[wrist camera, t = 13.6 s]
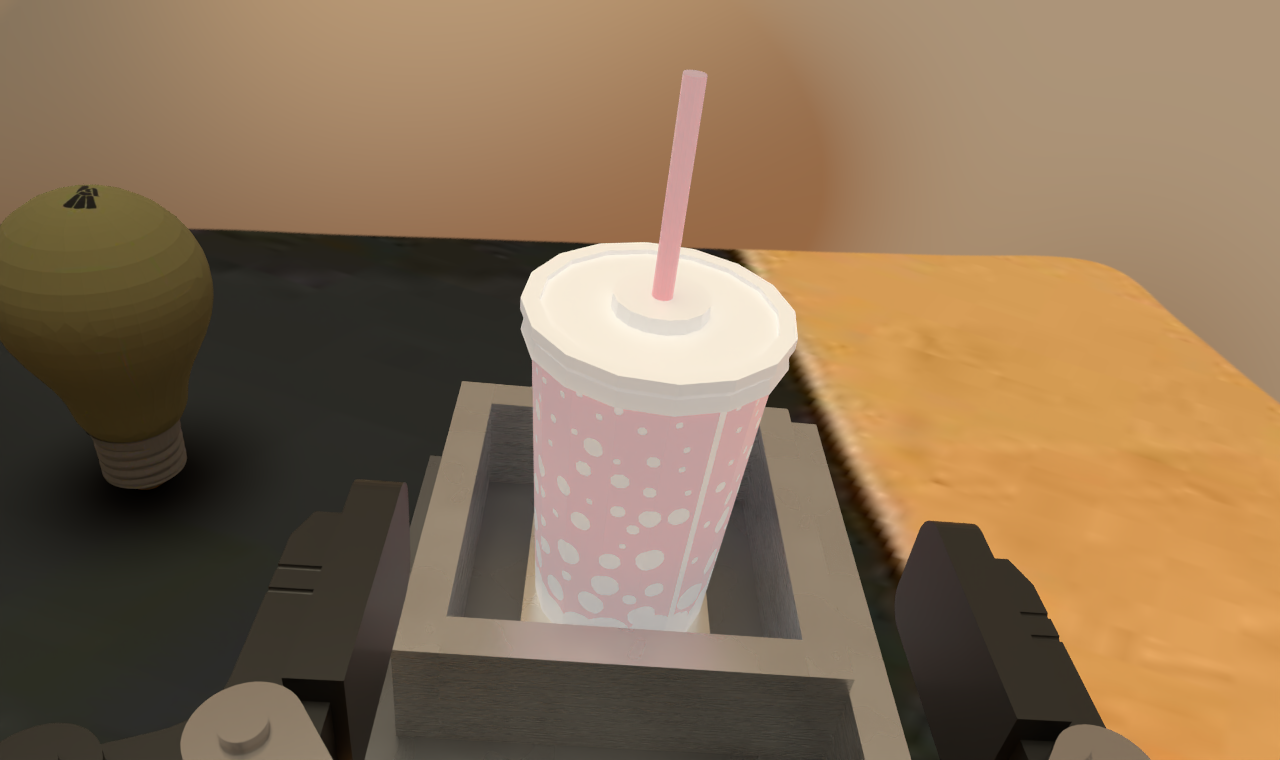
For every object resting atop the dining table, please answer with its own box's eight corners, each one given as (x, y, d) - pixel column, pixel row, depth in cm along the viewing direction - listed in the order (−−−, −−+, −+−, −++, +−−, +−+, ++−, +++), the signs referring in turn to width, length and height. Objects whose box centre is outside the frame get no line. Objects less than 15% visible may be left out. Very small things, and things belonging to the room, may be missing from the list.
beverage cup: (661, 490, 28) (740, 27, 21) (772, 634, 24) (926, 120, 16) (474, 541, 26) (484, 30, 18) (563, 713, 21) (626, 142, 14)
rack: (239, 1229, 15) (189, 1119, 12) (431, 502, 30) (428, 378, 27) (934, 1241, 16) (1035, 1142, 13) (786, 529, 31) (819, 411, 28)
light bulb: (272, 497, 29) (228, 212, 24) (80, 570, 26) (-23, 259, 20) (208, 410, 33) (156, 141, 27) (30, 465, 29) (-71, 172, 24)
